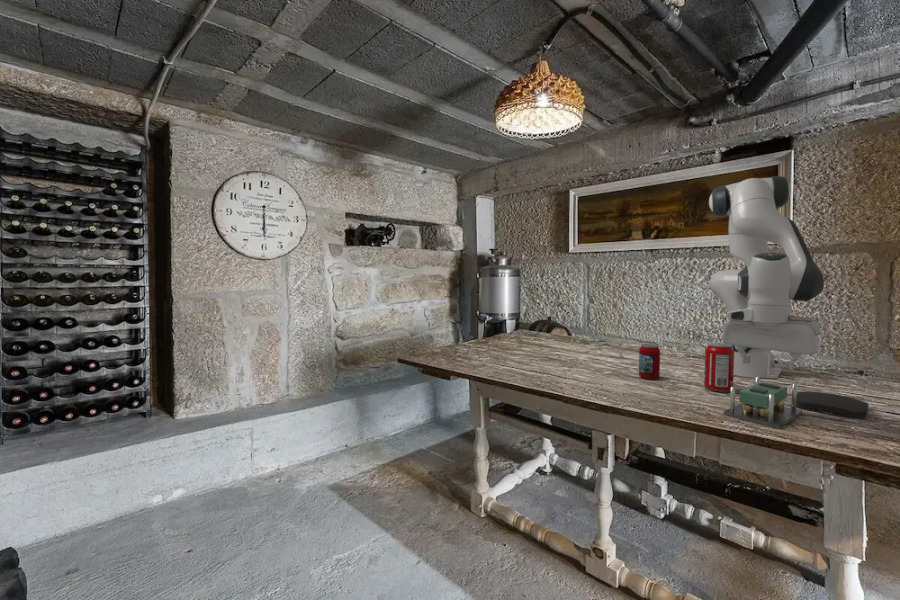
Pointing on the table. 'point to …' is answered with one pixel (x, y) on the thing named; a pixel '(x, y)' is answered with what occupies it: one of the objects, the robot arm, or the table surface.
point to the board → (762, 394)
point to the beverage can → (649, 361)
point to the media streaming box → (832, 404)
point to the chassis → (765, 410)
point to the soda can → (719, 367)
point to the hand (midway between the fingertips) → (766, 365)
